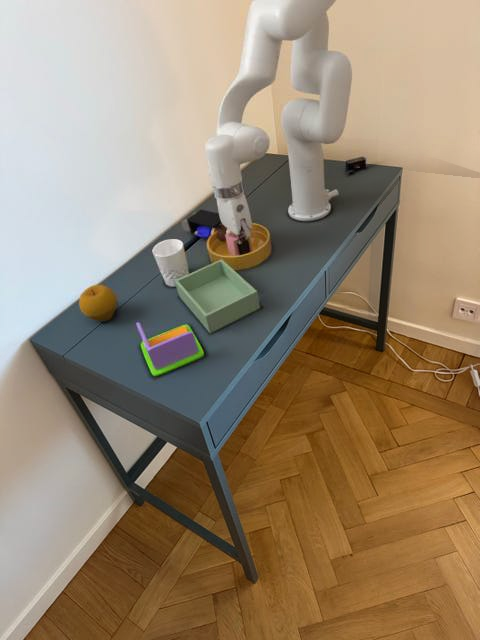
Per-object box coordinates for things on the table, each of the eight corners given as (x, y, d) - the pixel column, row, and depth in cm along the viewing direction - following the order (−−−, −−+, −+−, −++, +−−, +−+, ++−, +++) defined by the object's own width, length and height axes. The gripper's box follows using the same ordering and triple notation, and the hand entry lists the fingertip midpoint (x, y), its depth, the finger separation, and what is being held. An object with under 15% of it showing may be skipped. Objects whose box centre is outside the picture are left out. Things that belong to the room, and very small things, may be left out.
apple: (87, 311, 118) (73, 284, 112) (121, 301, 118) (109, 273, 113) (88, 333, 111) (73, 305, 105) (124, 322, 112) (111, 293, 106)
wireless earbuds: (342, 170, 154) (342, 161, 152) (363, 165, 155) (363, 156, 153) (348, 176, 151) (348, 166, 149) (368, 170, 151) (369, 161, 149)
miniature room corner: (153, 378, 96) (143, 355, 92) (139, 344, 105) (130, 322, 100) (206, 356, 98) (199, 333, 94) (188, 324, 107) (181, 302, 103)
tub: (225, 275, 120) (221, 259, 117) (260, 308, 108) (257, 291, 104) (179, 296, 116) (174, 280, 113) (210, 333, 104) (205, 316, 100)
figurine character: (185, 240, 139) (220, 248, 129) (176, 218, 134) (212, 223, 125) (200, 230, 142) (235, 236, 133) (192, 207, 138) (228, 212, 128)
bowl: (251, 229, 135) (249, 215, 132) (284, 253, 123) (282, 239, 120) (199, 252, 130) (196, 238, 127) (228, 279, 118) (225, 265, 115)
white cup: (196, 271, 123) (187, 239, 117) (184, 289, 118) (175, 257, 111) (170, 269, 126) (160, 238, 119) (158, 287, 121) (146, 255, 114)
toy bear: (244, 244, 129) (238, 213, 122) (252, 251, 125) (246, 219, 119) (227, 252, 127) (220, 220, 121) (235, 259, 124) (228, 227, 117)
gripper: (258, 193, 109) (268, 257, 121) (225, 173, 121) (236, 233, 133) (231, 205, 107) (243, 268, 119) (200, 183, 119) (214, 243, 131)
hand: (239, 249), depth 126 cm, fingers closed on toy bear, 4 cm apart
